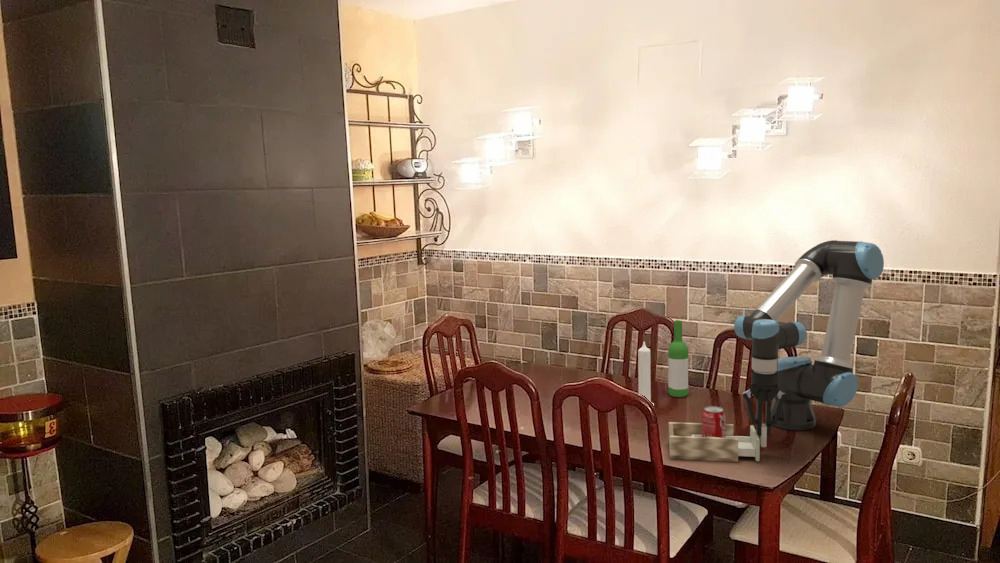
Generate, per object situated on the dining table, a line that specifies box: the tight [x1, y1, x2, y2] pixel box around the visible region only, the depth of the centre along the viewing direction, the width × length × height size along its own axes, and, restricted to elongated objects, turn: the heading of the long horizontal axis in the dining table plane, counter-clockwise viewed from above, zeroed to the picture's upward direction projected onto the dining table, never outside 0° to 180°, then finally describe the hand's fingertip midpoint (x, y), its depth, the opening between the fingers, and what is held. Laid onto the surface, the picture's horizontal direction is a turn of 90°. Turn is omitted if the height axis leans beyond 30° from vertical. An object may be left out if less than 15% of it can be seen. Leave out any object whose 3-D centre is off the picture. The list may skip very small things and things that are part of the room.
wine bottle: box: [667, 319, 689, 398], centre depth 281 cm, size 8×8×30 cm
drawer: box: [691, 424, 761, 462], centre depth 221 cm, size 19×13×7 cm
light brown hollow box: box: [668, 421, 739, 463], centre depth 223 cm, size 20×14×7 cm
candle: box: [637, 341, 655, 407], centre depth 269 cm, size 7×7×25 cm
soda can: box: [701, 405, 727, 438], centre depth 221 cm, size 7×7×12 cm
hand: (763, 445), depth 219 cm, fingers closed
